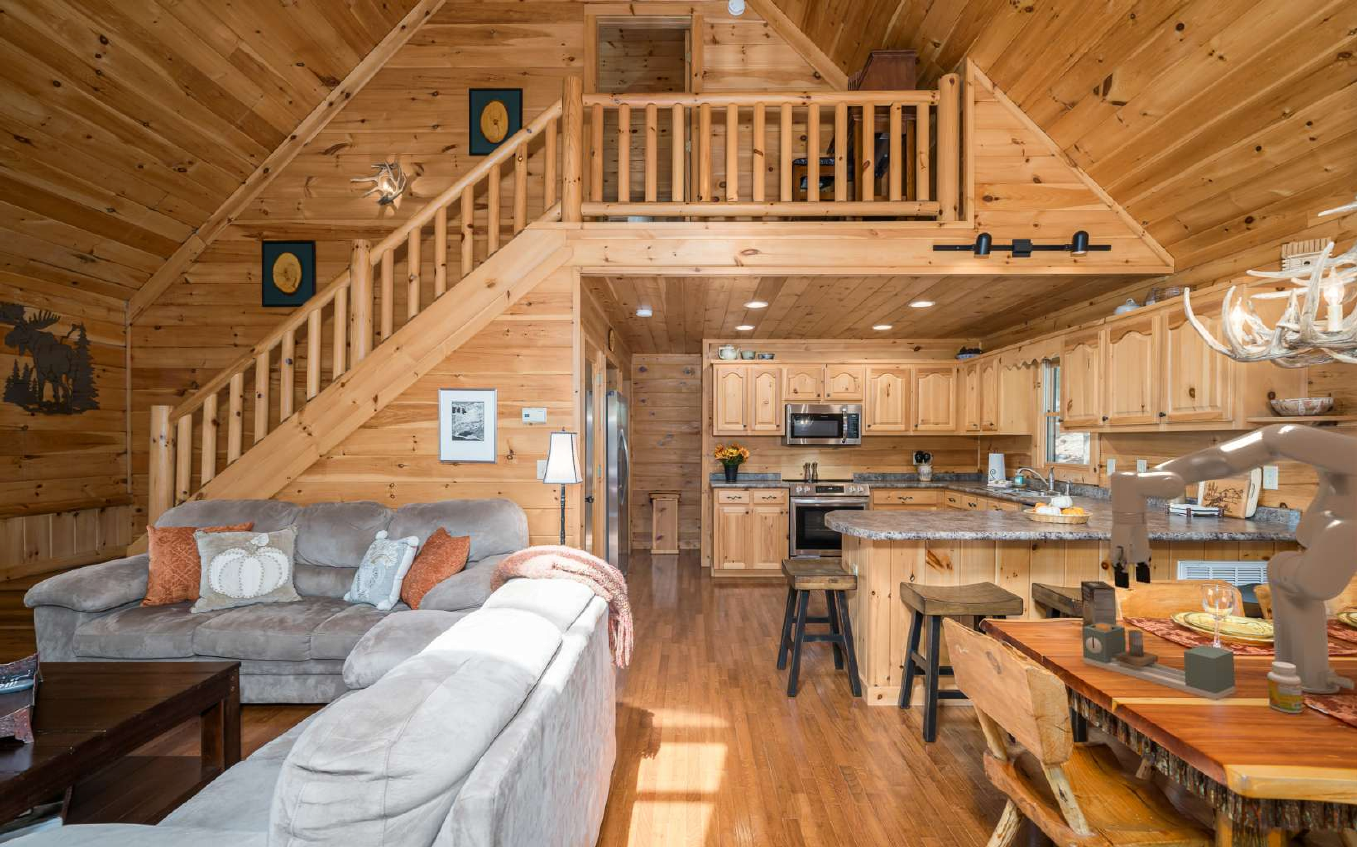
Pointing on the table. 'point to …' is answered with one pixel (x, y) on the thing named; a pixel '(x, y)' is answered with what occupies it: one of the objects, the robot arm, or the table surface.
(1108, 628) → the button
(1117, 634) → the far cabinet
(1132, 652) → the carriage
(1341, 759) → the table surface
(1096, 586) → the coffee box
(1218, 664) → the near cabinet
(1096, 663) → the rail track
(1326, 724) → the table surface
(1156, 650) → the table surface
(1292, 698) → the supplement bottle
